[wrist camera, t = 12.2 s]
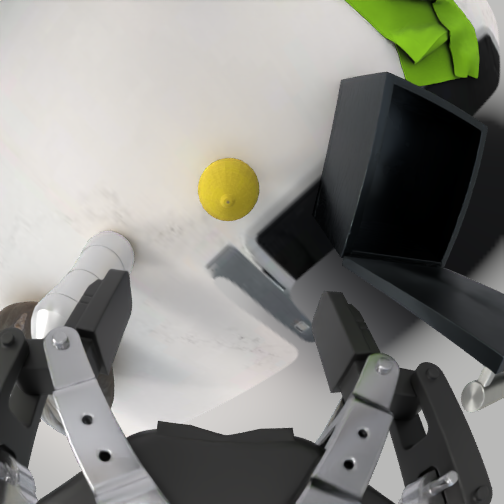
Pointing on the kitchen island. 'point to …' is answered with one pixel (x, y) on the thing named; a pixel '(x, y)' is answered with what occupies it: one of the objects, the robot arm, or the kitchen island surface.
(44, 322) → the silver bottle
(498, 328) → the caddy lid
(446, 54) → the cloth
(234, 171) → the lemon
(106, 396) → the gourd
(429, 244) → the box
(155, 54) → the kitchen island surface
